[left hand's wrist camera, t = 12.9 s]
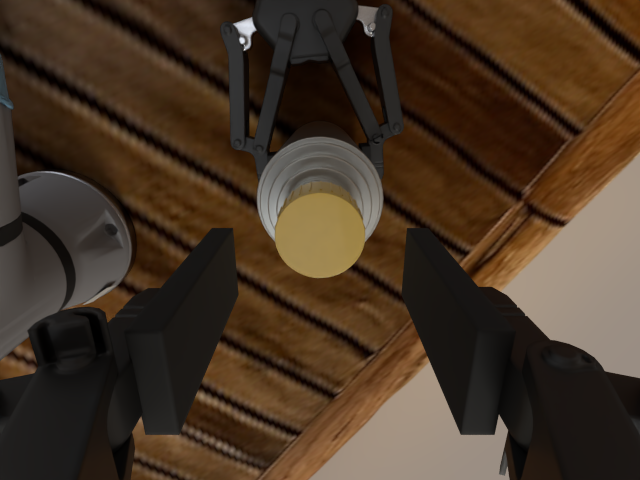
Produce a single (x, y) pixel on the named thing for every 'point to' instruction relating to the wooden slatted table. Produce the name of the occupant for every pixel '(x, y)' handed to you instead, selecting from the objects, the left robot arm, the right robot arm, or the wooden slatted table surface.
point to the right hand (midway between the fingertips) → (324, 217)
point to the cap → (319, 230)
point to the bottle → (319, 172)
